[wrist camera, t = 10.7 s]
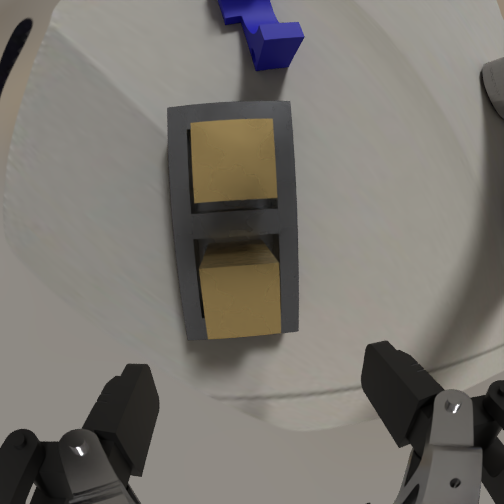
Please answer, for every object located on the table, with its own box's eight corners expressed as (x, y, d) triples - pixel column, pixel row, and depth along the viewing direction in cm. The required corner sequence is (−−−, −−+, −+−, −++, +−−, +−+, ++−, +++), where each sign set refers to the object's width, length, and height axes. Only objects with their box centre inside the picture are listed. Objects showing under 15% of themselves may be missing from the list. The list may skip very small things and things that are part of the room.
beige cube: (257, 143, 22) (272, 118, 14) (260, 196, 23) (277, 198, 15) (202, 146, 21) (190, 122, 14) (205, 199, 22) (194, 203, 15)
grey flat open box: (281, 113, 22) (290, 101, 18) (289, 314, 26) (298, 331, 22) (175, 119, 21) (167, 107, 18) (192, 321, 25) (187, 340, 22)
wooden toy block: (261, 239, 23) (279, 262, 16) (264, 289, 24) (281, 333, 16) (208, 243, 23) (199, 268, 15) (213, 293, 24) (208, 339, 16)
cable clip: (213, -12, 18) (212, -47, 13) (256, -17, 19) (263, -52, 13) (239, 74, 21) (243, 42, 15) (287, 67, 21) (304, 36, 15)
